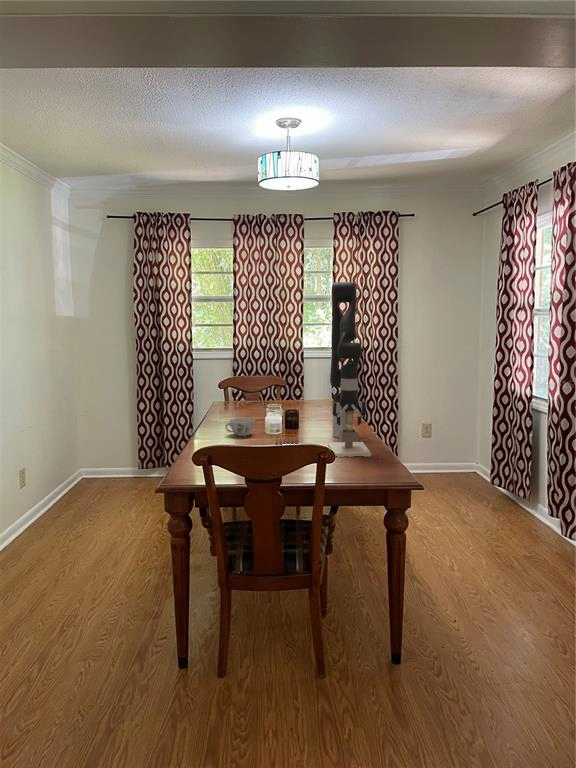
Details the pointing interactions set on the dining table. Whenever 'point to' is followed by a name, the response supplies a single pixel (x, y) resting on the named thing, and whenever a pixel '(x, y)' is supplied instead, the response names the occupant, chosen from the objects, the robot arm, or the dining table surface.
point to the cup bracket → (349, 445)
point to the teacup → (241, 426)
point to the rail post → (349, 422)
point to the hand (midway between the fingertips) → (348, 425)
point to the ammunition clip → (287, 441)
